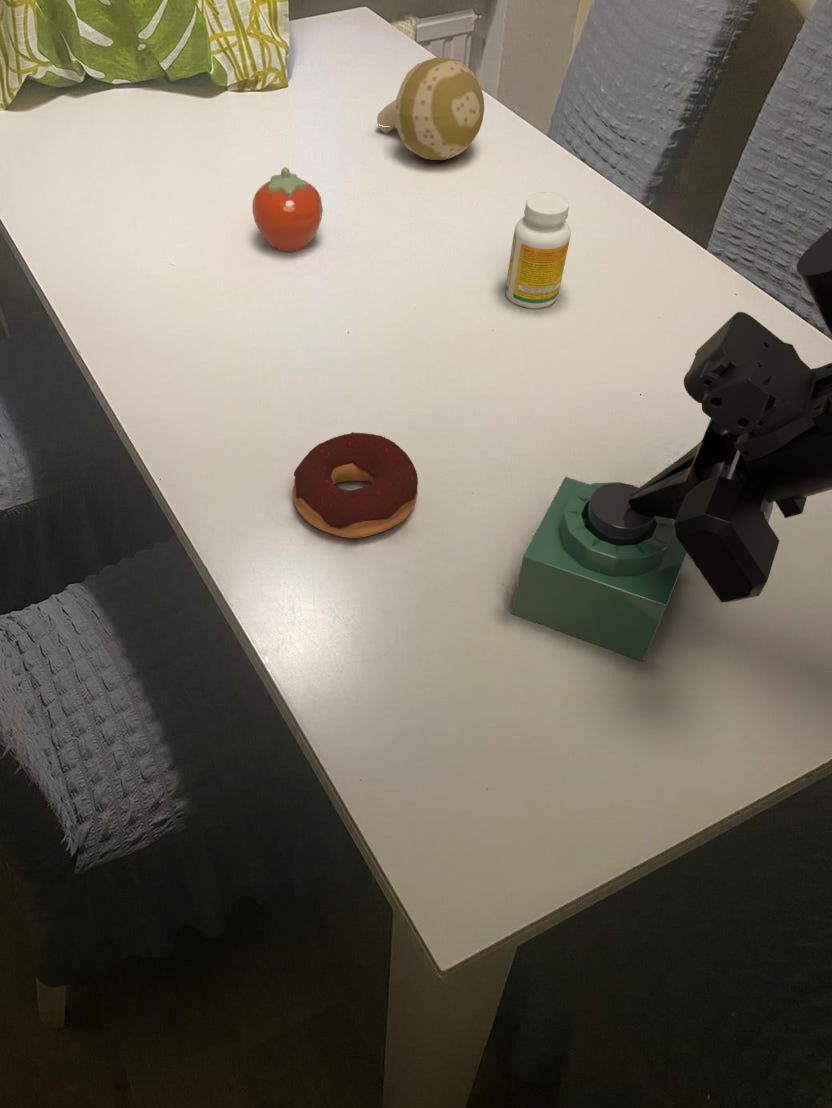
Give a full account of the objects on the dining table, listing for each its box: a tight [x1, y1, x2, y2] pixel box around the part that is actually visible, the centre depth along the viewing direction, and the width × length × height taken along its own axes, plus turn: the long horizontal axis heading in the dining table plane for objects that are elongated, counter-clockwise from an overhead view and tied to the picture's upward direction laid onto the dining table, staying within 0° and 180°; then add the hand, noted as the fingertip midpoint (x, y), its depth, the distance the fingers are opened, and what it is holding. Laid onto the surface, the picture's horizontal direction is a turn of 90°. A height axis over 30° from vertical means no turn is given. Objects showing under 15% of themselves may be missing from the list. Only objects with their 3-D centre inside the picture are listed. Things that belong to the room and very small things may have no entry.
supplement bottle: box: [505, 191, 572, 309], centre depth 90 cm, size 5×5×10 cm
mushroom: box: [376, 56, 485, 161], centre depth 110 cm, size 10×11×15 cm
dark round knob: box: [585, 482, 655, 546], centre depth 63 cm, size 4×4×2 cm
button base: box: [510, 476, 688, 662], centre depth 67 cm, size 10×9×8 cm
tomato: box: [251, 167, 324, 253], centre depth 97 cm, size 7×7×8 cm
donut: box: [292, 431, 419, 539], centre depth 74 cm, size 10×10×4 cm
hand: (632, 503), depth 62 cm, fingers closed
